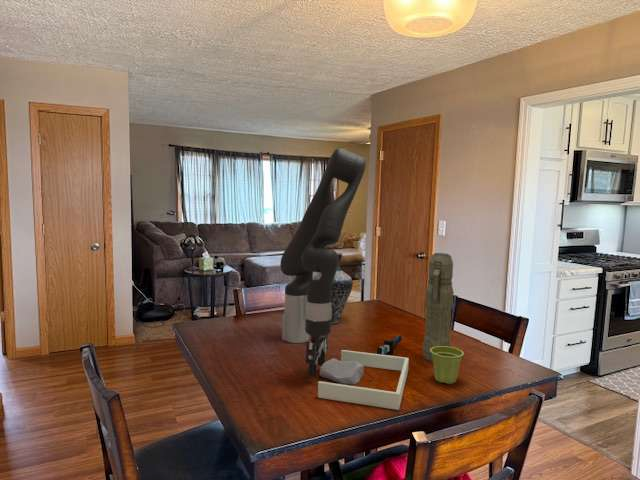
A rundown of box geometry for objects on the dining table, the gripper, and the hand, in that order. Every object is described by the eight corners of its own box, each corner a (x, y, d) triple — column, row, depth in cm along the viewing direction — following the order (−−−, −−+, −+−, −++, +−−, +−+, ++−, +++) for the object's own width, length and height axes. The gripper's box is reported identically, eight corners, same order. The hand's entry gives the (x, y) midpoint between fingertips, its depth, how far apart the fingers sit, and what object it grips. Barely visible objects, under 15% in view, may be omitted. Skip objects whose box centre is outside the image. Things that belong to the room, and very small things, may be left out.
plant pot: (442, 388, 123) (444, 358, 122) (422, 376, 131) (423, 347, 130) (469, 384, 126) (470, 354, 126) (447, 372, 135) (448, 344, 134)
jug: (309, 314, 198) (311, 248, 196) (352, 317, 196) (355, 250, 193) (301, 327, 178) (303, 253, 175) (349, 330, 175) (351, 255, 173)
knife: (380, 361, 138) (381, 347, 138) (371, 359, 140) (372, 345, 140) (408, 345, 165) (409, 333, 165) (400, 343, 167) (401, 332, 167)
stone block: (355, 392, 123) (365, 373, 132) (354, 377, 122) (364, 359, 131) (316, 386, 128) (328, 368, 137) (314, 371, 126) (327, 354, 135)
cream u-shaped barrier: (317, 397, 115) (318, 382, 115) (341, 361, 141) (341, 349, 141) (398, 409, 109) (399, 394, 109) (408, 370, 135) (408, 357, 135)
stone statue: (419, 361, 143) (424, 254, 140) (425, 350, 154) (430, 251, 151) (447, 366, 140) (453, 256, 137) (451, 354, 151) (457, 253, 148)
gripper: (313, 309, 135) (312, 360, 137) (298, 321, 122) (296, 378, 123) (337, 312, 133) (335, 364, 135) (324, 324, 119) (322, 382, 121)
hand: (316, 370), depth 129 cm, fingers open, 8 cm apart
